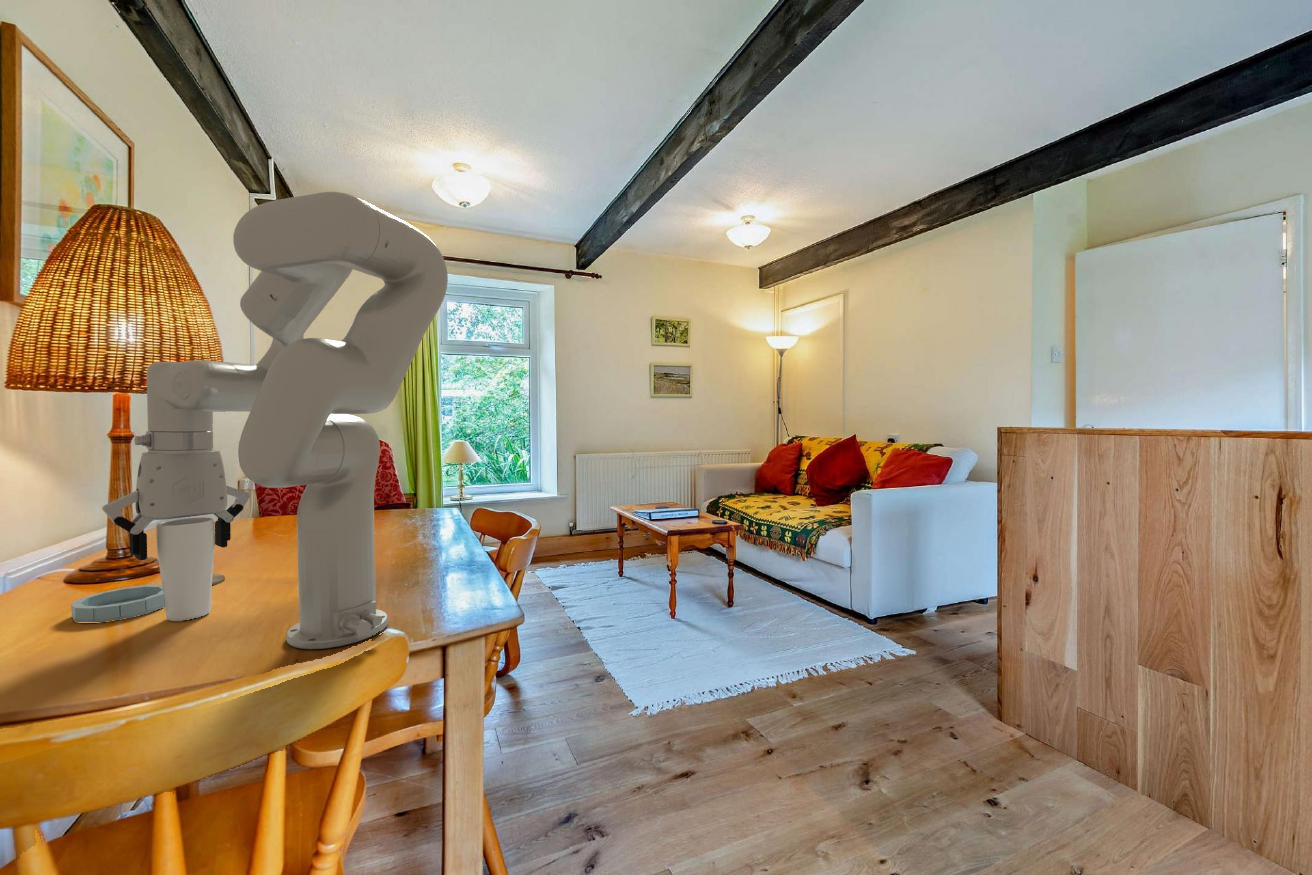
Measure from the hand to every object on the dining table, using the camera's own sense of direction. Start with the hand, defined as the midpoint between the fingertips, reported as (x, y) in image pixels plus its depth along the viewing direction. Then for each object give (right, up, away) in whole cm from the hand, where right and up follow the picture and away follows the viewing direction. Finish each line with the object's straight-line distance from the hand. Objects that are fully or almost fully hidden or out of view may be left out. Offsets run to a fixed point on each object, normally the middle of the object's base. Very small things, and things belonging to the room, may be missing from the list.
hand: (182, 552), depth 83 cm
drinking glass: (+1, -10, 0) cm, 10 cm away
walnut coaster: (-13, -10, +16) cm, 23 cm away
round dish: (-12, -10, +3) cm, 16 cm away
